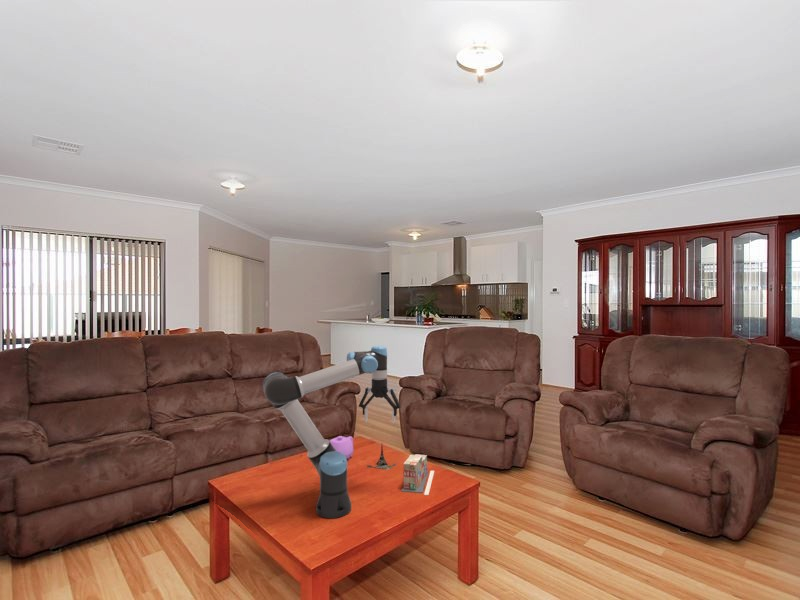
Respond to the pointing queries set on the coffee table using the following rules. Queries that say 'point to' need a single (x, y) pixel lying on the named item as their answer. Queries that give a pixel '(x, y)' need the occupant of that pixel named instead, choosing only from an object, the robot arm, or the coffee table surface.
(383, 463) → the eiffel tower figurine
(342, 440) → the teapot
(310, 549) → the coffee table surface
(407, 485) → the stack of blocks
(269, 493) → the coffee table surface
